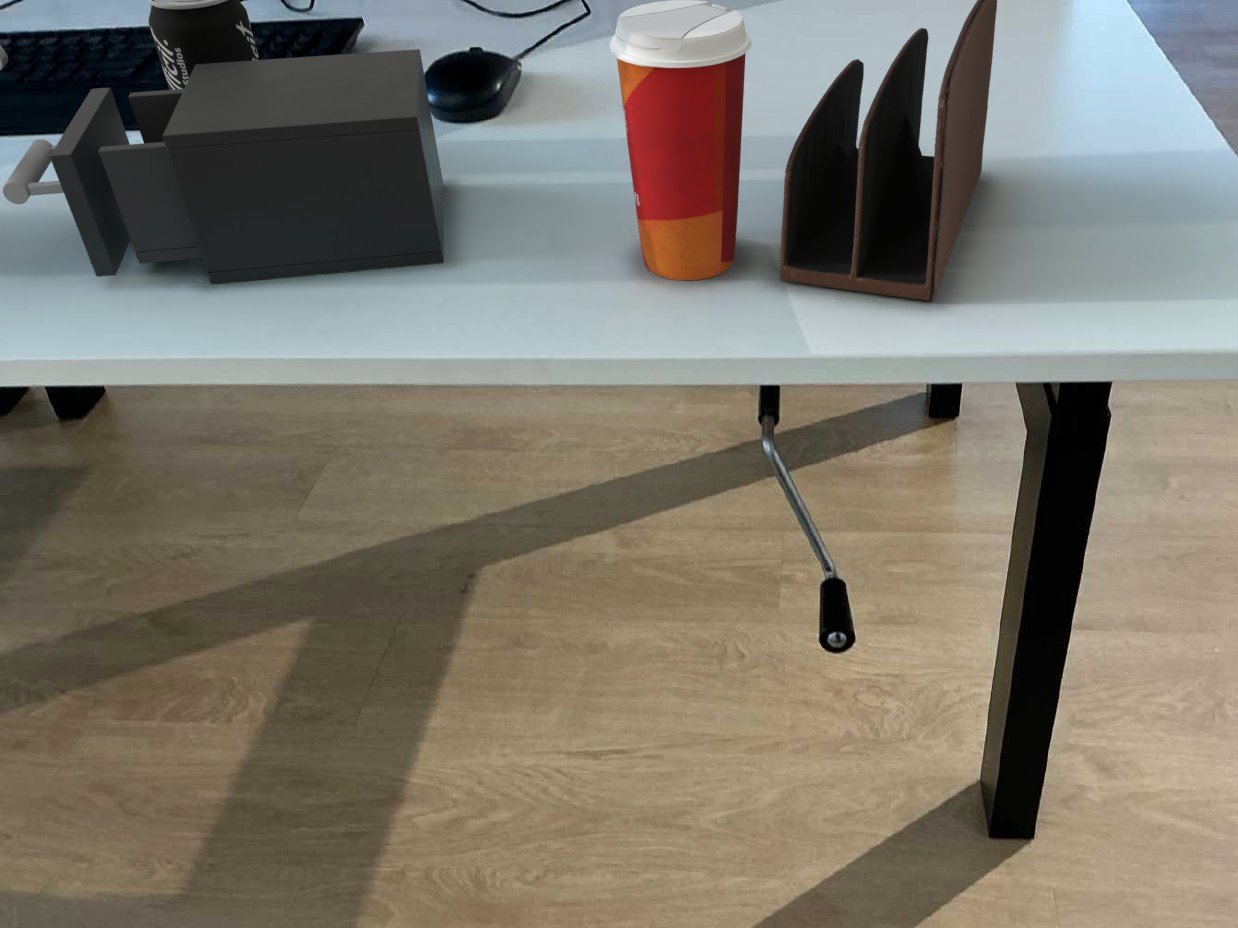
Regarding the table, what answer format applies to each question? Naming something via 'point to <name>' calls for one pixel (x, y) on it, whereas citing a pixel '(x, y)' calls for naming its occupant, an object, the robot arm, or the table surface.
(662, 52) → the coffee cup
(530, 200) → the table surface
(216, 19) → the beverage can
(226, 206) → the cabinet
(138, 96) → the drawer
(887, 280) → the letter holder
